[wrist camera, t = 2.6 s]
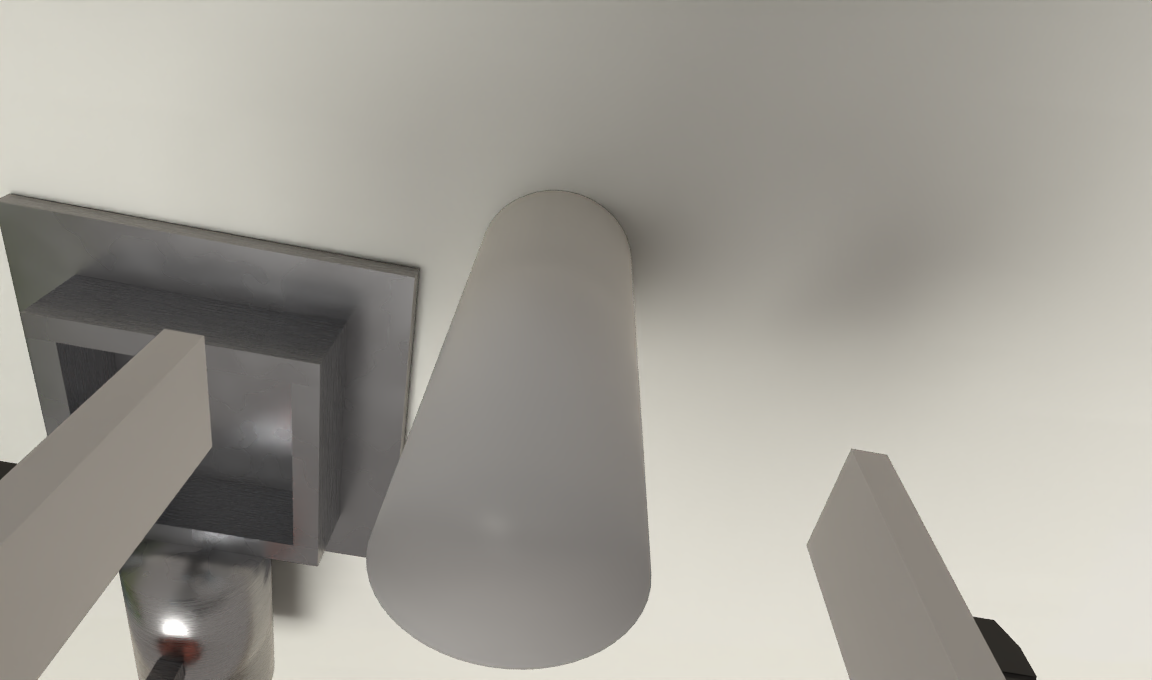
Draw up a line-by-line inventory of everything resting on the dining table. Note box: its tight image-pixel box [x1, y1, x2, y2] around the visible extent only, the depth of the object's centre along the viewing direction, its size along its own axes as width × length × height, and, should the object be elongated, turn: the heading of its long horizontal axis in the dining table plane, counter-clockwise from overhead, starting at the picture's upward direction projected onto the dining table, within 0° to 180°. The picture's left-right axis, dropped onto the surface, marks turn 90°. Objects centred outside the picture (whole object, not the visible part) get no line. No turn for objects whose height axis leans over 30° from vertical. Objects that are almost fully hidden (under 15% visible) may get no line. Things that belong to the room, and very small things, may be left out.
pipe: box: [366, 190, 651, 670], centre depth 17 cm, size 4×4×12 cm
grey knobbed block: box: [0, 194, 419, 680], centre depth 23 cm, size 17×12×8 cm
